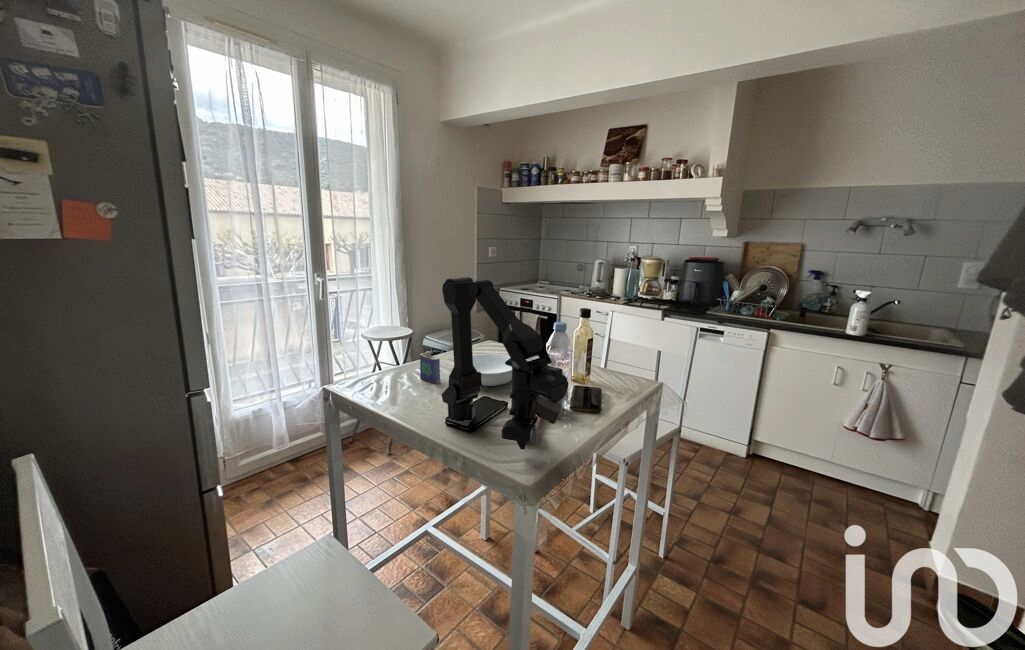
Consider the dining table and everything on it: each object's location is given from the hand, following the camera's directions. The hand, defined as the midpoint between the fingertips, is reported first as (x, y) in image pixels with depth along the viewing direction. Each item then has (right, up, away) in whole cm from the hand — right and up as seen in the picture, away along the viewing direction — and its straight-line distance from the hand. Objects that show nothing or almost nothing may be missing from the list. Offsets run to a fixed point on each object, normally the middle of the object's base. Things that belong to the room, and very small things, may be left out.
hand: (522, 448), depth 95 cm
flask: (-31, +10, +45) cm, 55 cm away
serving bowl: (-10, +9, +45) cm, 47 cm away
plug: (+3, +1, +13) cm, 13 cm away
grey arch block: (+5, +4, +24) cm, 25 cm away
